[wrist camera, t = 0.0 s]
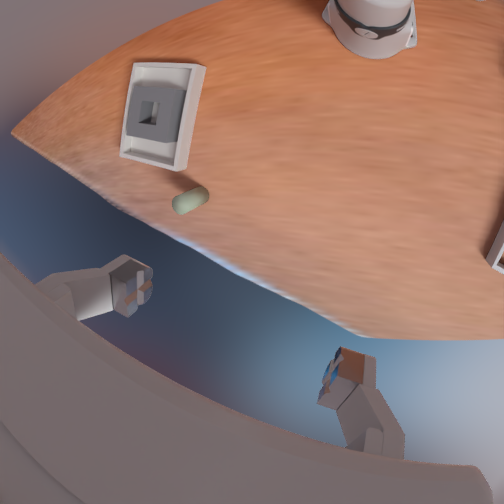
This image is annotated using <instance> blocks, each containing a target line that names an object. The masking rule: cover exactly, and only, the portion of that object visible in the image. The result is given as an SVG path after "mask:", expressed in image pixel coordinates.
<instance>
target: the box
mask: <svg viewBox="0 0 504 504" xmlns="http://www.w3.org/2000/svg"><path fill="white" fill-rule="evenodd" d="M205 72H206V67H205V66H201V65H198V64H188V63H157V62H146V63H134V64H133V69H132V74H131V79H130V84H129V89H128V95H127V101H126V107H125V114H124V121H123V128H122V137H121V146H120V156H119V157H123V158H127V159H131V160H135V161H139V162H143V163H147V164H151V165H154V166H158V167H162V168H165V169H169V170H173V171H176V172H177V171H181V170H184V169H186V168H187V162H188V156H189V150H190V144H191V139H192V133H193V128H194V123H195V118H196V113H197V108H198V103H199V98H200V94H201V89H202V85H203V80H204V76H205Z"/></svg>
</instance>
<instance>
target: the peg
mask: <svg viewBox="0 0 504 504" xmlns="http://www.w3.org/2000/svg"><path fill="white" fill-rule="evenodd" d="M208 199H209V192H208V190H207V189H206V188H205V187H202V186H200V187H197V188H194V189H192V190H189V191H187V192H185V193H182V194H180V195H178V196H175V197H174V198H173V200H172V207H173V209H174V211H175V212H176V213H178V214H181V215H182V214H185V213H187V212H189V211H191V210H192V209H194V208H196V207H198V206H200V205H202V204H204V203H206V202H207V201H208Z"/></svg>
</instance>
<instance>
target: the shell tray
mask: <svg viewBox="0 0 504 504" xmlns="http://www.w3.org/2000/svg"><path fill="white" fill-rule="evenodd" d="M503 251H504V220H503V222H502V224H501V227H500V229H499V231H498V234H497V236H496V238H495V240H494V243H493V245H492V247H491V249H490V251H489V253H488V255H487V257H486V259H485V260H486V261H487V263H488V264H489V265H490V266H491V268H493V269H495V270H497V271H499V272H501V273H502V274H504V265H503V264H501V263H499V260H500V258H501V256H502V253H503Z"/></svg>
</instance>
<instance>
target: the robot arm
mask: <svg viewBox="0 0 504 504" xmlns="http://www.w3.org/2000/svg"><path fill="white" fill-rule="evenodd" d="M476 1H483V0H476ZM322 18H323V20H324V21H325V22H326V23H327V24H328V25H330V26H331V27H332V28H333V30H334V32H335V34H336V36H337V38H338V39H339V41H340V42H341V43H342V44H343V45H344V46H345V47H346V48H347V49H349V50H350V51H352V52H353V53H355V54H357V55H359V56H362V57H366V58H370V59H384V58H388V57H391V56H393V55H395V54H397V53H398V52H399V51H401V50H403V49H408V48H413V47H415V46H416V44H417V32H416V19H415V9H414V1H413V0H329V2H328V4H327V5H326V7H325V9H324V11H323V13H322ZM411 36H412V38H411ZM152 276H153V270H152V269H151V267H148V266H146V265H145V264H143V263H141V262H139V261H137V260H135V259H133V258H131V257H129V256H127V255H121V256H120V257H118V258H116V259H115V260H113V261H112V262H110V263H108V264H107V265H105V266H104V267H102V268H100V269H98V268H93V269H84V270H77V271H69V272H61V273H54V274H51V275H50V276H48V277H46V278H45V279H43V280H41V281H40V282H38V283H37V284H35V285H34V284H33V283H32V282H31V281H30V280H28V279H27V278H26V277H25V276H24V275H23V274H22V273H21V272H20V271H19V270H17V268H16V267H14V266H13V265H12V264H11V263H10V262H9V261H8V260H7V259H6V258H5V256H4V255H3V254H2V253H0V504H493V494H492V490H491V488H490V486H489V484H488V482H487V481H486V479H485V477H484V476H483V474H482V472H481V471H480V470H479V469H478V468H477V467H476V466H471V465H451V464H437V463H426V462H417V461H409V460H404V443H405V434H404V433H403V430H402V429H401V427H400V425H399V423H398V422H397V420H396V418H395V417H394V415H393V413H392V411H391V410H390V408H389V406H388V404H387V403H386V401H385V400H384V398H383V396H382V394H381V393H380V391H379V390H378V389H375V388H376V387H375V386H376V358H375V357H371V356H368V355H366V354H361V353H359V352H356V351H352V350H350V349H347V348H344V347H339V349H338V350H337V352H336V354H335V358H334V359H333V360H331V361H330V363H329V365H328V366H327V368H326V371H325V373H324V376H323V380H322V383H323V387H322V389H321V390H320V392H319V397H318V401H317V404H319V405H322V406H325V407H328V408H331V409H334V410H337V411H336V413H337V416H338V419H339V421H340V424H341V427H342V430H343V433H344V436H345V439H346V442H347V445H348V446H347V447H345V448H343V447H339V446H335V445H331V444H328V443H324V442H321V441H317V440H314V439H311V438H308V437H304V436H301V435H298V434H295V433H292V432H289V431H286V430H283V429H280V428H278V427H275V426H272V425H269V424H267V423H264V422H261V421H259V420H256V419H254V418H251V417H249V416H246V415H244V414H241V413H239V412H237V411H234V410H232V409H230V408H227V407H225V406H223V405H221V404H218V403H216V402H214V401H212V400H210V399H208V398H206V397H204V396H201V395H199V394H197V393H195V392H193V391H191V390H189V389H188V388H186V387H183V386H182V385H180V384H178V383H176V382H174V381H172V380H170V379H168V378H167V377H165V376H163V375H161V374H159V373H158V372H156V371H154V370H153V369H151V368H149V367H147V366H146V365H144V364H142V363H141V362H139V361H137V360H136V359H134V358H133V357H131V356H129V355H128V354H126V353H125V352H123V351H121V350H120V349H118V348H117V347H115V346H114V345H112V344H111V343H109V342H108V341H106V340H105V339H103V338H102V337H100V336H99V335H97V334H96V333H95V332H93V331H92V330H90V329H89V328H88V327H86V326H85V325H83V324H82V323H81V322H80V321H79V320H83V319H86V318H89V317H93V316H96V315H99V314H102V313H106V312H109V311H112V310H113V309H114V310H115V311H117V312H119V313H121V314H122V315H124V316H126V317H129V316H130V315H131V314H133V313H134V312H135V311H136V310H137V307H138V305H141V304H144V303H145V302H146V301H147V300H148V299H149V297H150V295H151V292H152V283H151V281H150V279H151V277H152Z"/></svg>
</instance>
